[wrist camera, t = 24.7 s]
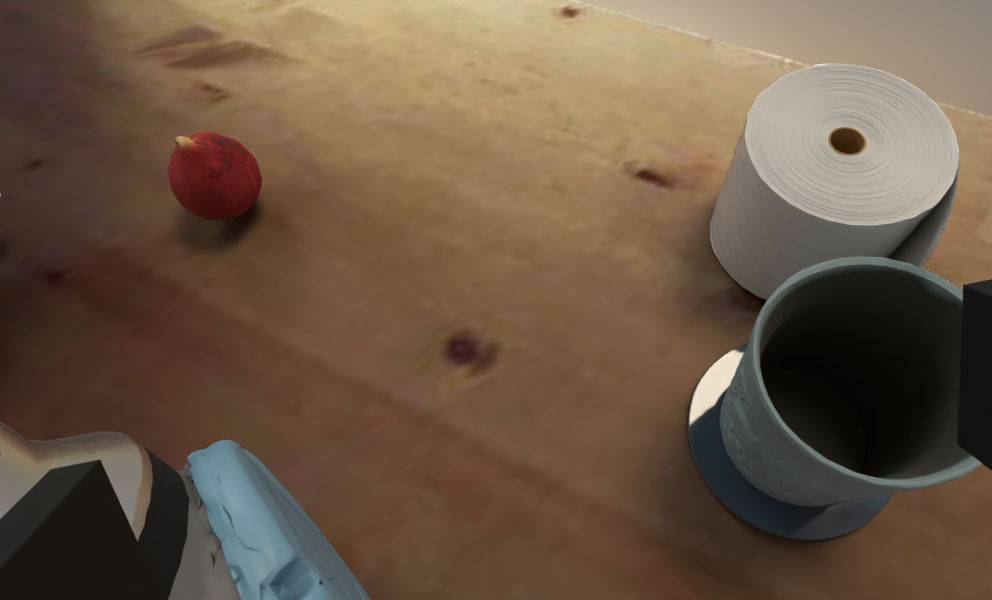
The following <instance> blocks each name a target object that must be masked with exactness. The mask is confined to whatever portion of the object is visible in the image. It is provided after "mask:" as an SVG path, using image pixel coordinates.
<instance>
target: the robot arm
mask: <svg viewBox="0 0 992 600" xmlns="http://www.w3.org/2000/svg"><path fill="white" fill-rule="evenodd" d="M957 445H959V446H960V447H961V448H963V449H964V450H965V451H967V452H968V453H969V454H971V455H972V456H973V457H975V458H976V459H977V460H979V461H980V462H981V463H983V464H984V465H985V466H986V467H988V468H989V469H990V470H992V279H991V280H986V281H981V282H976V283H971V284H966V285H963V305H962V330H961V354H960V379H959V403H958V428H957ZM187 458H188V459H189V460H188V462H187V463H186V465H185V467H184V469H183V470H182V471H178V470H175V469H174V468H173V467H171V466H169V465H168V464H166V463H165V462H164V461H162V460H161V459H160V458H158V457H157V456H156V455H154V454H153V453H152V452H150V451H149V450H147V449H146V448H145V447H143V446H142V445H141V444H139V443H138V442H137V441H135V440H133V439H131V438H130V437H128V436H127V435H125V434H124V433H119V432H113V431H107V432H95V433H90V434H84V435H78V436H72V437H67V438H61V439H55V440H49V441H36V440H27V439H26V438H24V437H23V436H21V435H20V434H18V433H17V432H15V431H14V430H12V429H11V428H9V427H8V426H6V425H5V424H3V423H2V422H0V600H370V598H369V597H368V595H367V594H366V592H365V591H364V590H363V588H362V587H361V585H360V584H359V582H358V581H357V580H356V578H355V577H354V575H353V574H352V573H351V571H350V570H349V569H348V567H347V566H346V564H345V563H344V562H343V560H342V559H341V558H340V556H339V555H338V554H337V552H336V551H335V550H334V548H333V547H332V546H331V544H330V543H329V542H328V541H327V539H326V538H325V537H324V535H323V534H322V533H321V532H320V530H319V529H318V528H317V526H316V525H315V524H314V523H313V521H312V520H311V519H310V518H309V516H308V515H307V514H306V513H305V511H304V510H303V509H302V508H301V506H300V505H299V504H298V503H297V502H296V501H295V499H294V498H293V497H292V496H291V495H290V494H289V492H288V491H287V490H286V489H285V488H284V487H283V485H282V484H281V483H280V482H279V481H278V480H277V479H276V478H275V476H274V475H273V474H272V473H271V472H270V471H269V470H268V469H267V468H266V467H265V466H264V465H263V464H262V463H261V462H260V461H259V460H258V459H257V458H256V457H255V456H254V455H252V454H251V453H249V452H248V451H246V450H244V449H243V448H242V447H241V446H240V445H239V444H237V443H236V442H234V441H230V440H221V441H218V442H215V443H213V444H212V445H211V446H209V447H208V448H206V449H204V450H198V451H196V452H194V451H193V452H192V453H191V454H190V455H189V456H188V457H187Z"/></svg>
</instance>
